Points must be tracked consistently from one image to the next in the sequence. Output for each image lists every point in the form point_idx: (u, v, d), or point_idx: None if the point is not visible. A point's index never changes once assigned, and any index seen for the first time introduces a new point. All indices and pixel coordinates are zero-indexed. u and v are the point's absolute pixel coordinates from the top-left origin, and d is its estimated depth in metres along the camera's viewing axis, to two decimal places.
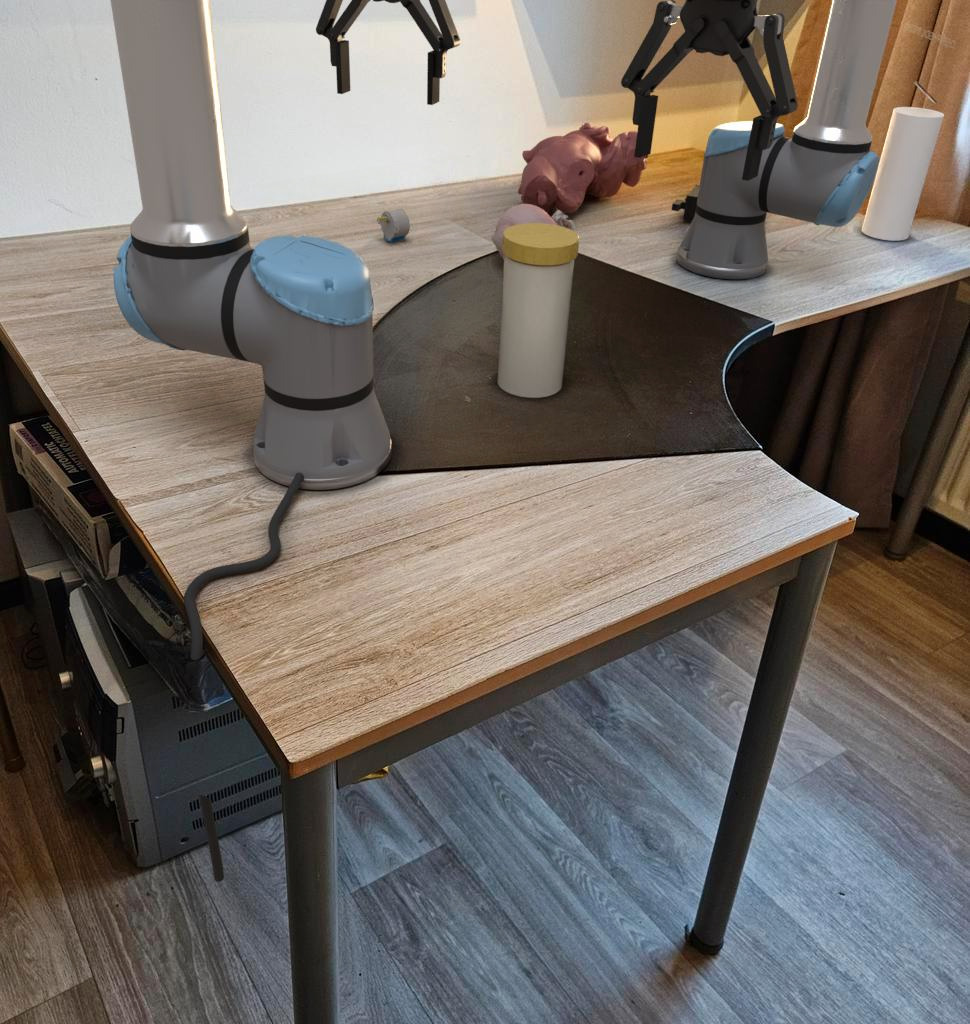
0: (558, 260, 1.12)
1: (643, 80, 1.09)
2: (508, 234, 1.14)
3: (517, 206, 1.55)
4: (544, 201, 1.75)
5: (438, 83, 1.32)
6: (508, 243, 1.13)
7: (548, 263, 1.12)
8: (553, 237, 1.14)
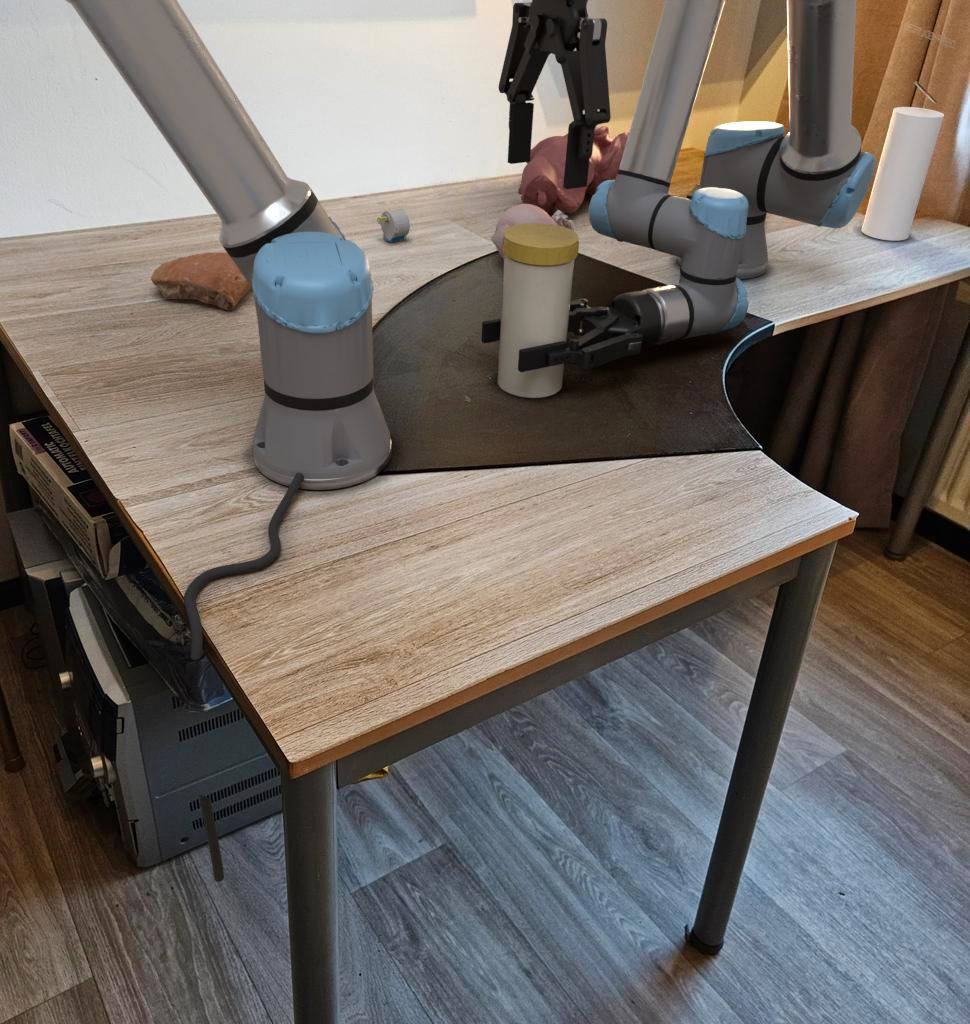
0: (558, 260, 1.12)
1: None
2: (508, 234, 1.14)
3: (517, 206, 1.55)
4: (544, 201, 1.75)
5: None
6: (508, 243, 1.13)
7: (548, 263, 1.12)
8: (553, 237, 1.14)
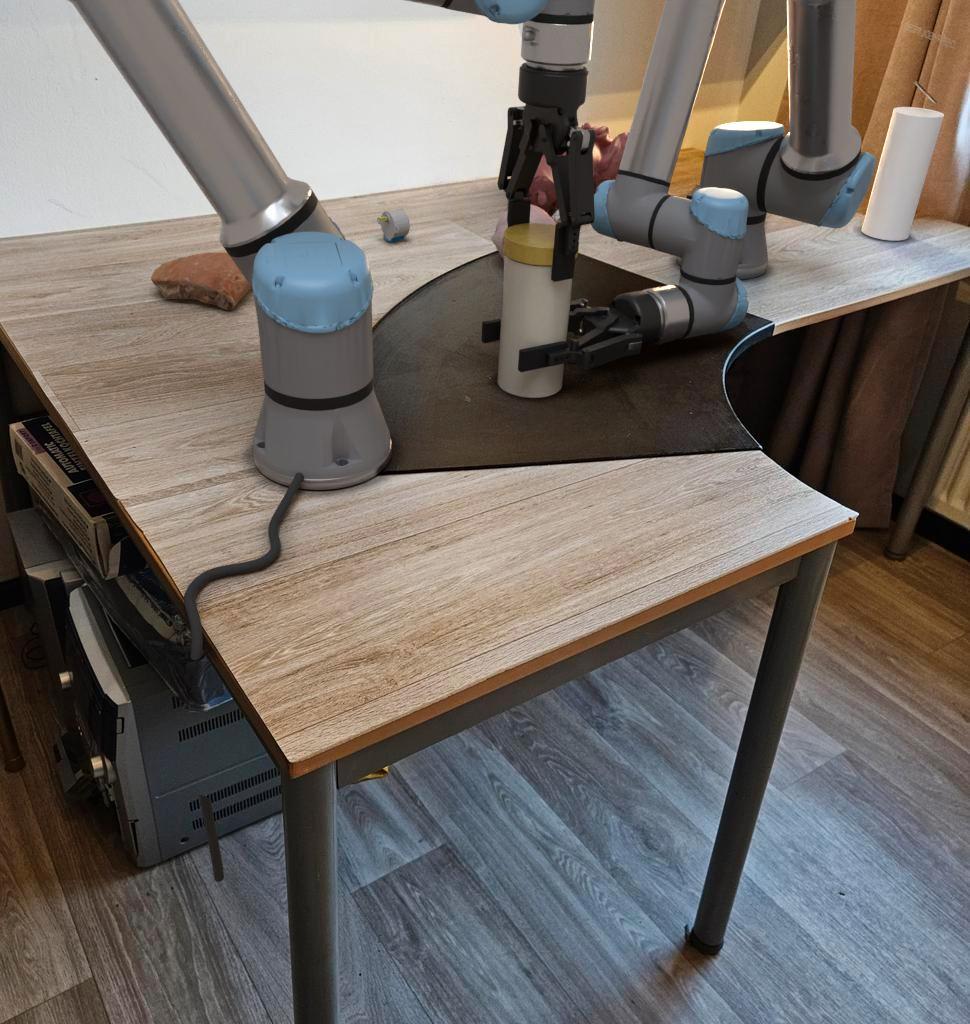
0: None
1: None
2: (508, 234, 1.14)
3: None
4: (544, 201, 1.75)
5: None
6: (508, 243, 1.13)
7: (548, 263, 1.12)
8: (553, 237, 1.14)
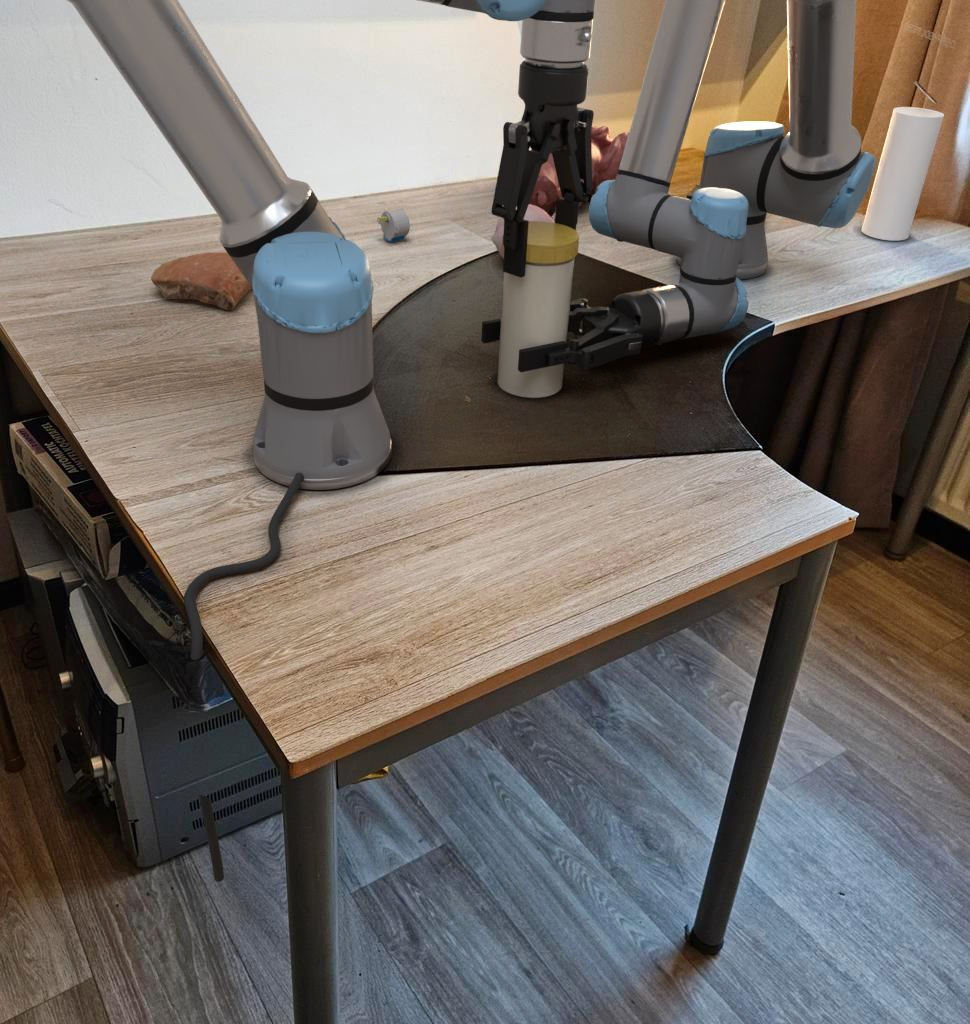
0: None
1: None
2: (555, 243, 1.11)
3: None
4: (544, 201, 1.75)
5: (519, 256, 1.11)
6: (570, 246, 1.12)
7: None
8: (542, 228, 1.16)
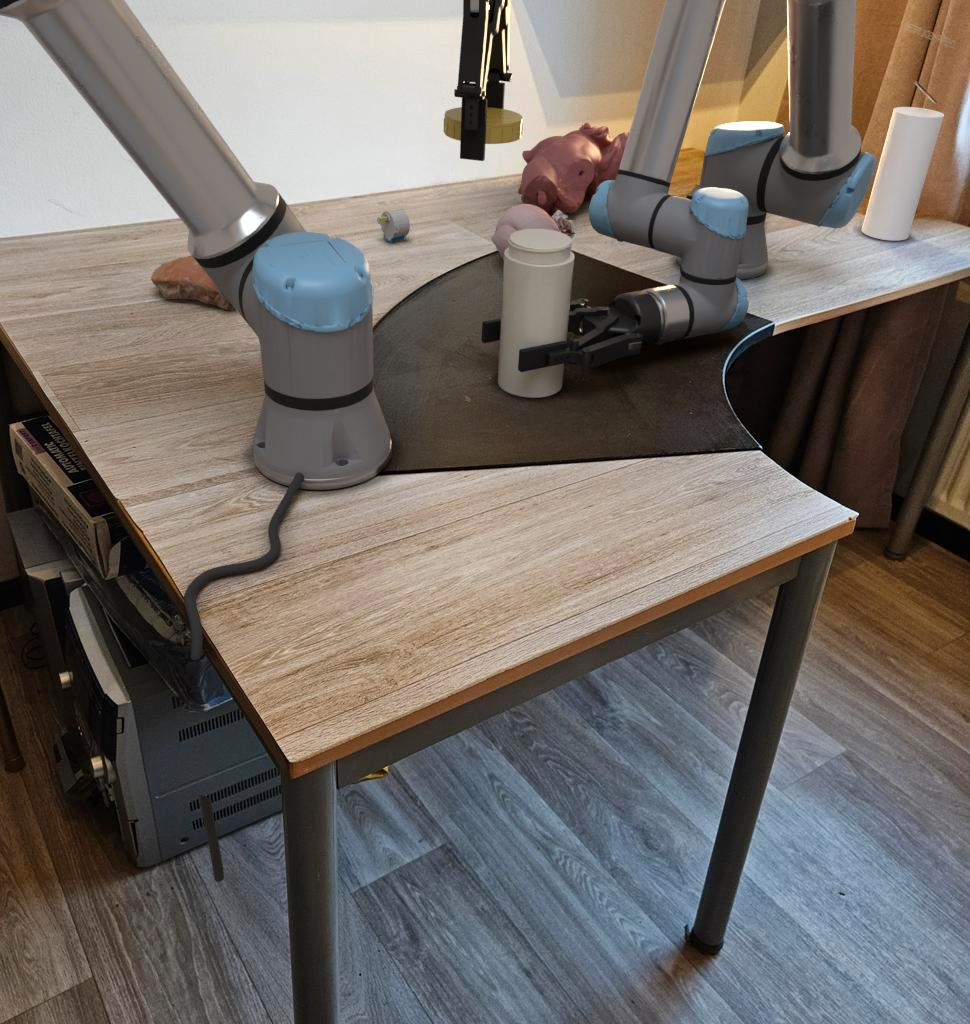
0: None
1: None
2: (510, 121, 1.09)
3: (517, 206, 1.55)
4: (544, 201, 1.75)
5: (480, 138, 1.07)
6: (521, 123, 1.10)
7: None
8: None
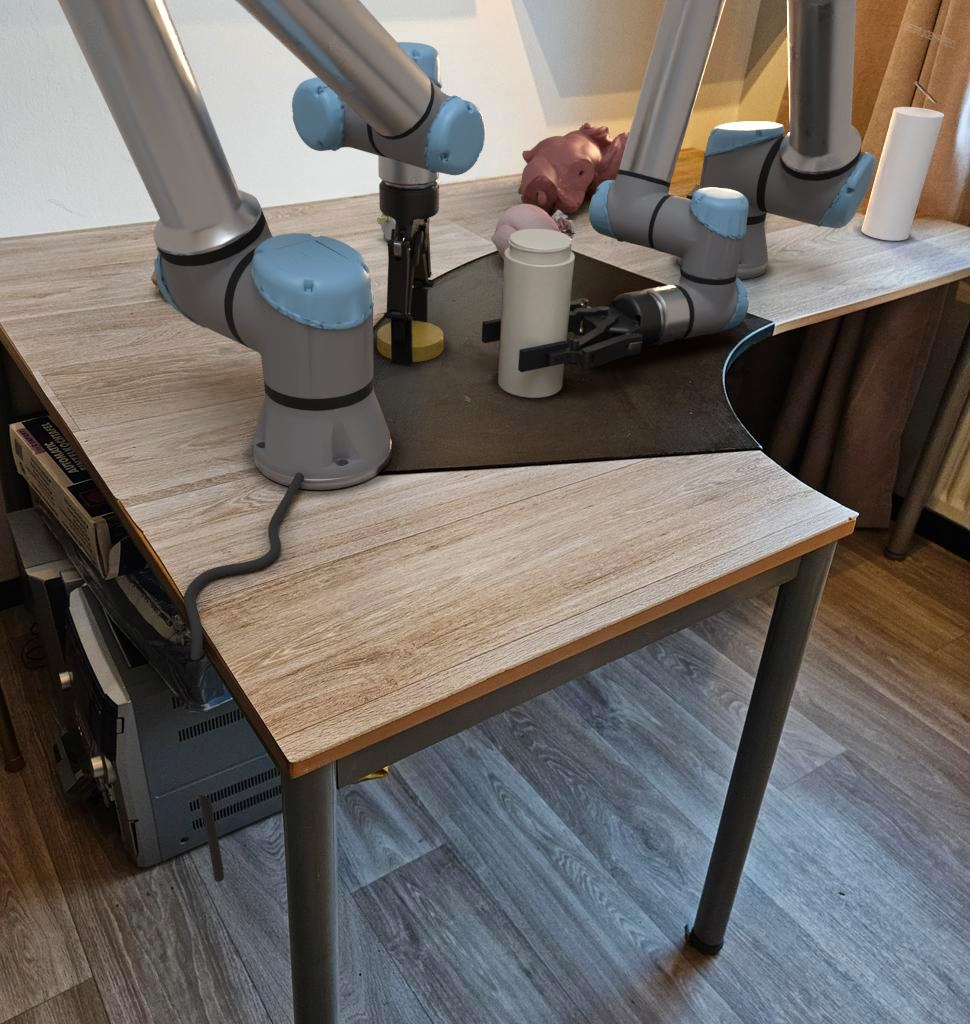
0: None
1: None
2: (433, 341, 1.30)
3: (517, 206, 1.55)
4: (544, 201, 1.75)
5: (407, 347, 1.27)
6: (442, 340, 1.31)
7: None
8: None
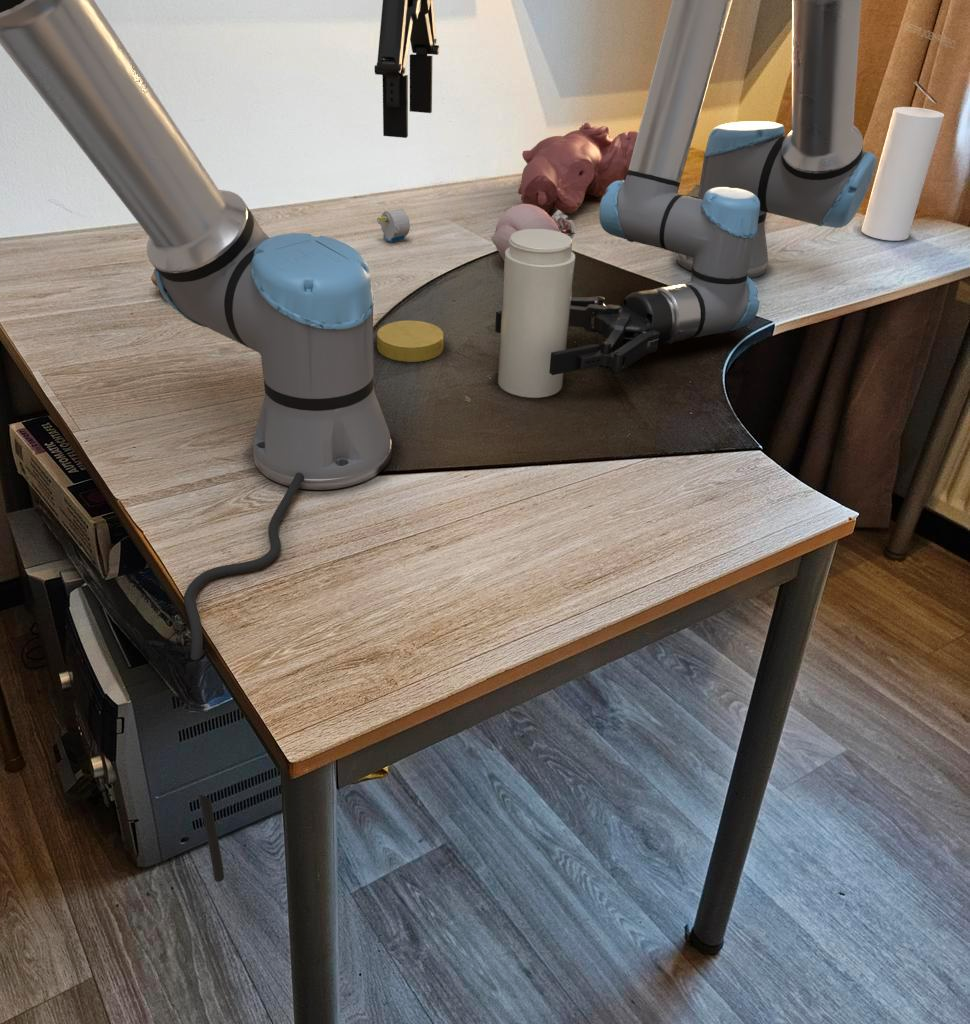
0: None
1: None
2: (433, 341, 1.30)
3: (517, 206, 1.55)
4: (544, 201, 1.75)
5: (402, 115, 1.09)
6: (442, 340, 1.31)
7: None
8: (406, 328, 1.33)
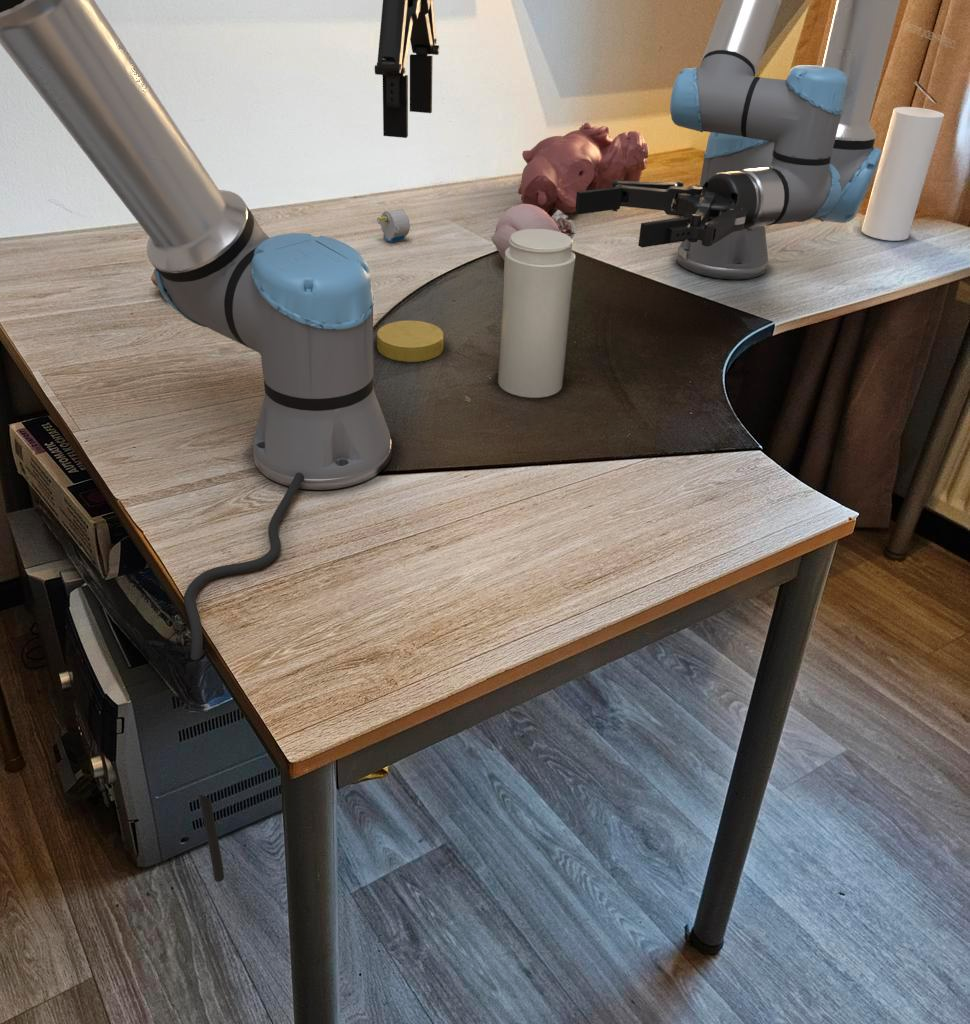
0: None
1: None
2: (433, 341, 1.30)
3: (517, 206, 1.55)
4: (544, 201, 1.75)
5: (402, 115, 1.09)
6: (442, 340, 1.31)
7: None
8: (406, 328, 1.33)
